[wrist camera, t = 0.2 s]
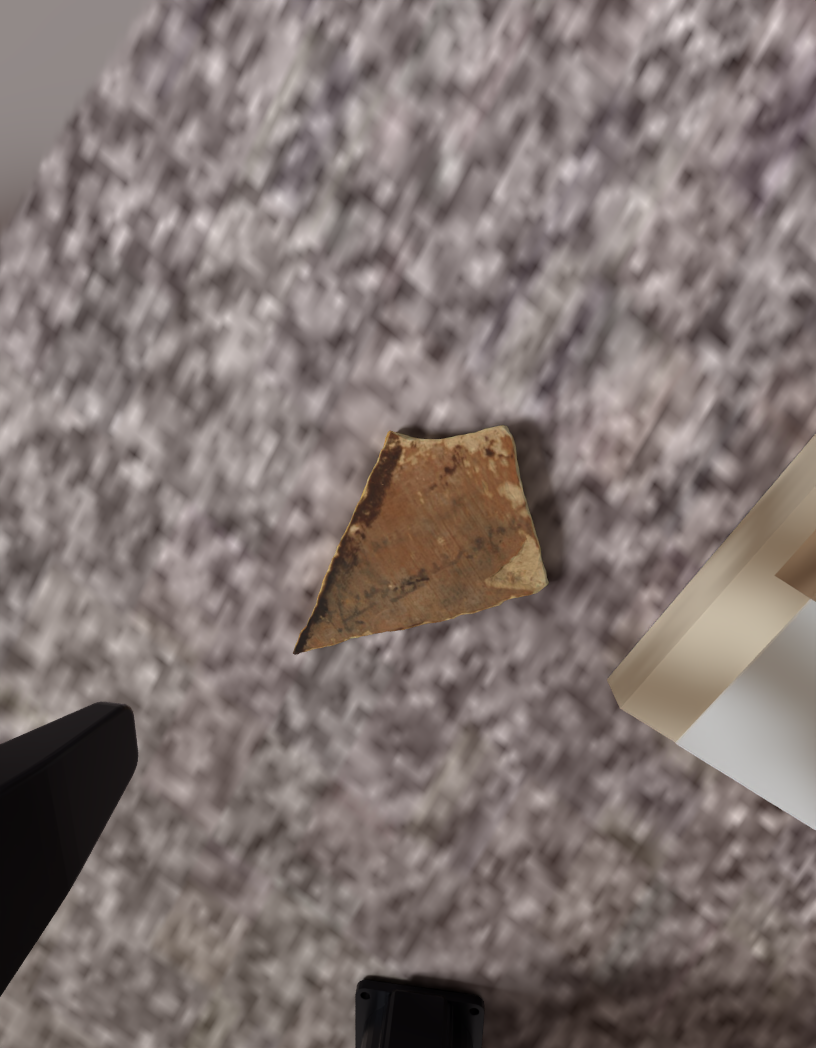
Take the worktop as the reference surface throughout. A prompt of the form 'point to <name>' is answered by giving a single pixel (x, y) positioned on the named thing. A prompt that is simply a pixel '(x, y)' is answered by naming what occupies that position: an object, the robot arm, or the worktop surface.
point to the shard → (430, 539)
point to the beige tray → (743, 652)
